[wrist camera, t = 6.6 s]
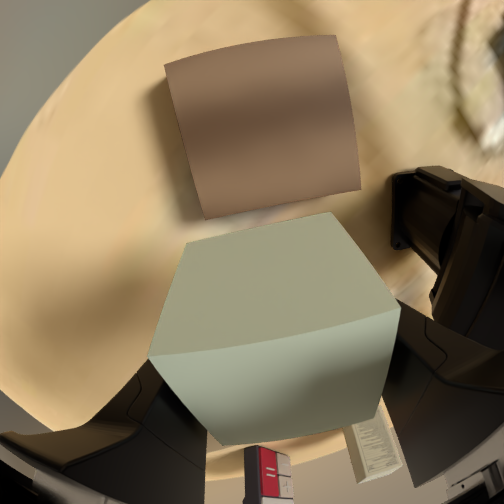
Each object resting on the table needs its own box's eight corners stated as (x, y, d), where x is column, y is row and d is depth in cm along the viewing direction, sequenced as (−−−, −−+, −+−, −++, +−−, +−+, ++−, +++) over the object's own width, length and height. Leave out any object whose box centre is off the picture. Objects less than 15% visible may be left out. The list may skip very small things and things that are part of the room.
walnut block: (345, 178, 19) (361, 189, 16) (210, 204, 19) (205, 220, 17) (322, 45, 14) (335, 34, 11) (175, 71, 15) (163, 64, 12)
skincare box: (340, 422, 37) (354, 485, 26) (347, 410, 34) (364, 478, 24) (373, 415, 37) (391, 474, 26) (382, 403, 35) (403, 465, 24)
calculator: (291, 454, 44) (298, 516, 30) (274, 459, 45) (279, 519, 32) (259, 443, 39) (264, 517, 26) (241, 448, 40) (242, 518, 27)
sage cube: (338, 319, 11) (374, 418, 7) (226, 341, 12) (222, 445, 7) (330, 211, 9) (400, 307, 4) (187, 243, 9) (147, 356, 5)
